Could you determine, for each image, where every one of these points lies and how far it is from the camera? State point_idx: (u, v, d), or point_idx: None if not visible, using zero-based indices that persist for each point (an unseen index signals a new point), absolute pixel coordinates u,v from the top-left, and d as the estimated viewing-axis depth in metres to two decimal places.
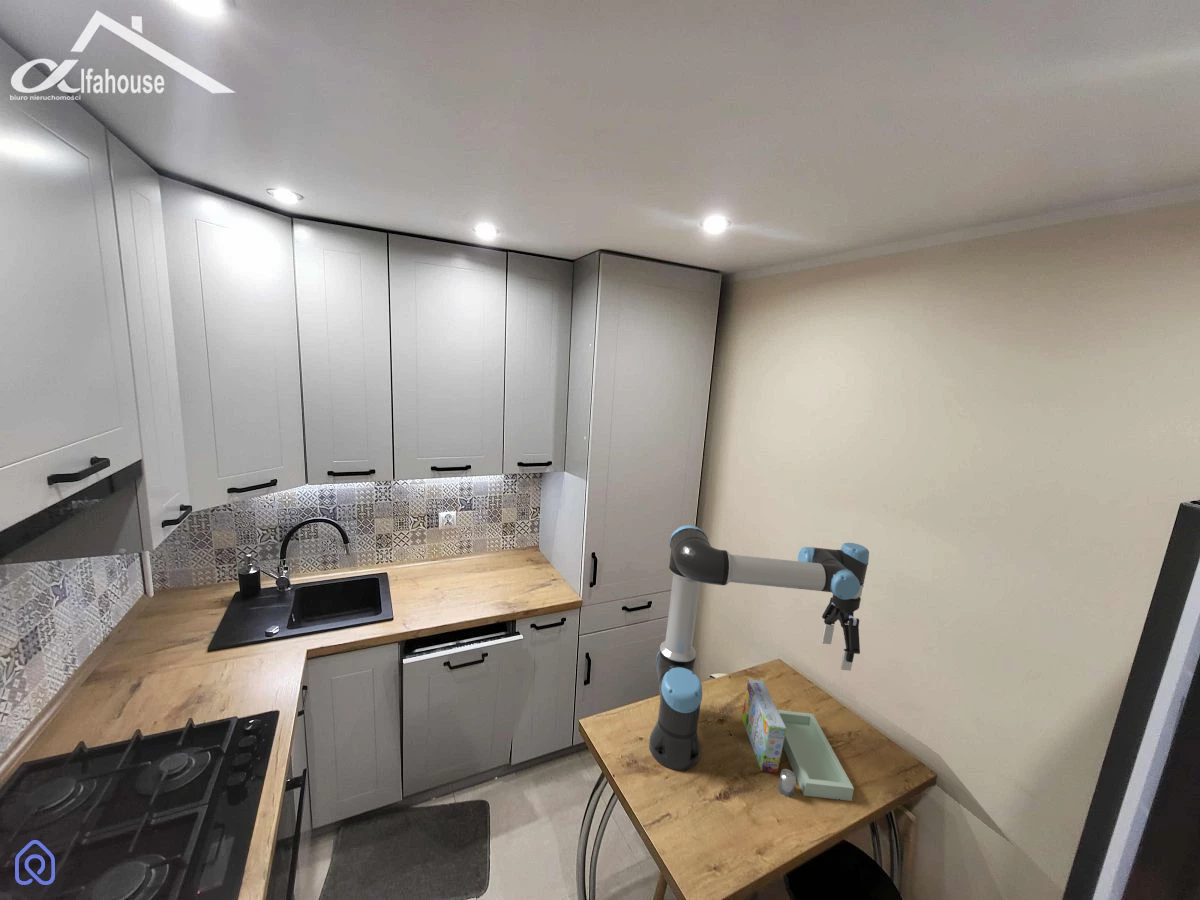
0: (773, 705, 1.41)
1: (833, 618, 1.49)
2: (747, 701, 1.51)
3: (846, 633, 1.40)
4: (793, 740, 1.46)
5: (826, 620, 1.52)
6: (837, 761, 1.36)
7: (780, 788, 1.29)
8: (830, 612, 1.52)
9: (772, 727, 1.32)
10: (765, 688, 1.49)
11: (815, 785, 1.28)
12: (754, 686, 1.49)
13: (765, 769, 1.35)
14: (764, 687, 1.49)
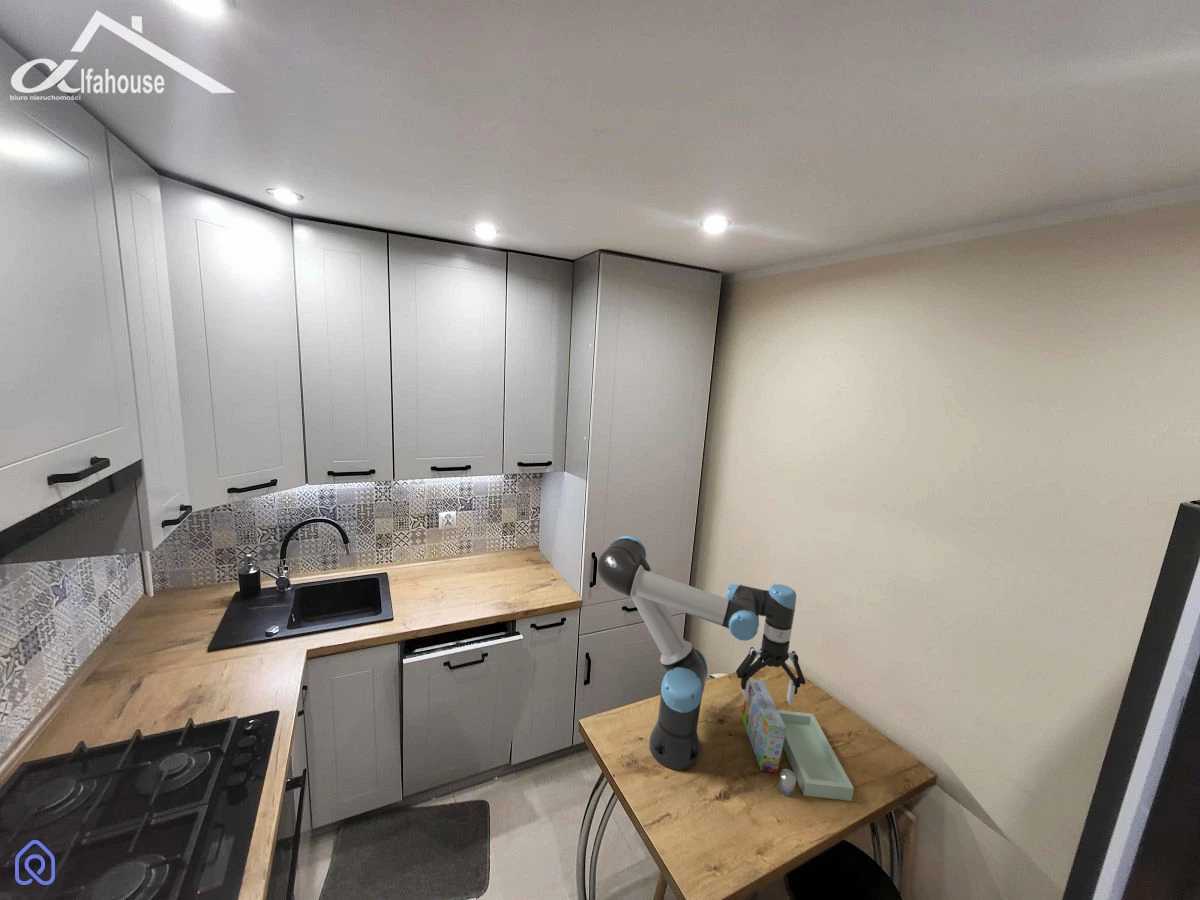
0: (773, 705, 1.41)
1: None
2: (747, 701, 1.51)
3: (753, 664, 1.42)
4: (793, 740, 1.46)
5: None
6: (837, 761, 1.36)
7: (780, 788, 1.29)
8: (796, 670, 1.41)
9: (772, 727, 1.32)
10: (765, 688, 1.49)
11: (815, 785, 1.28)
12: (754, 686, 1.49)
13: (765, 769, 1.35)
14: (764, 687, 1.49)
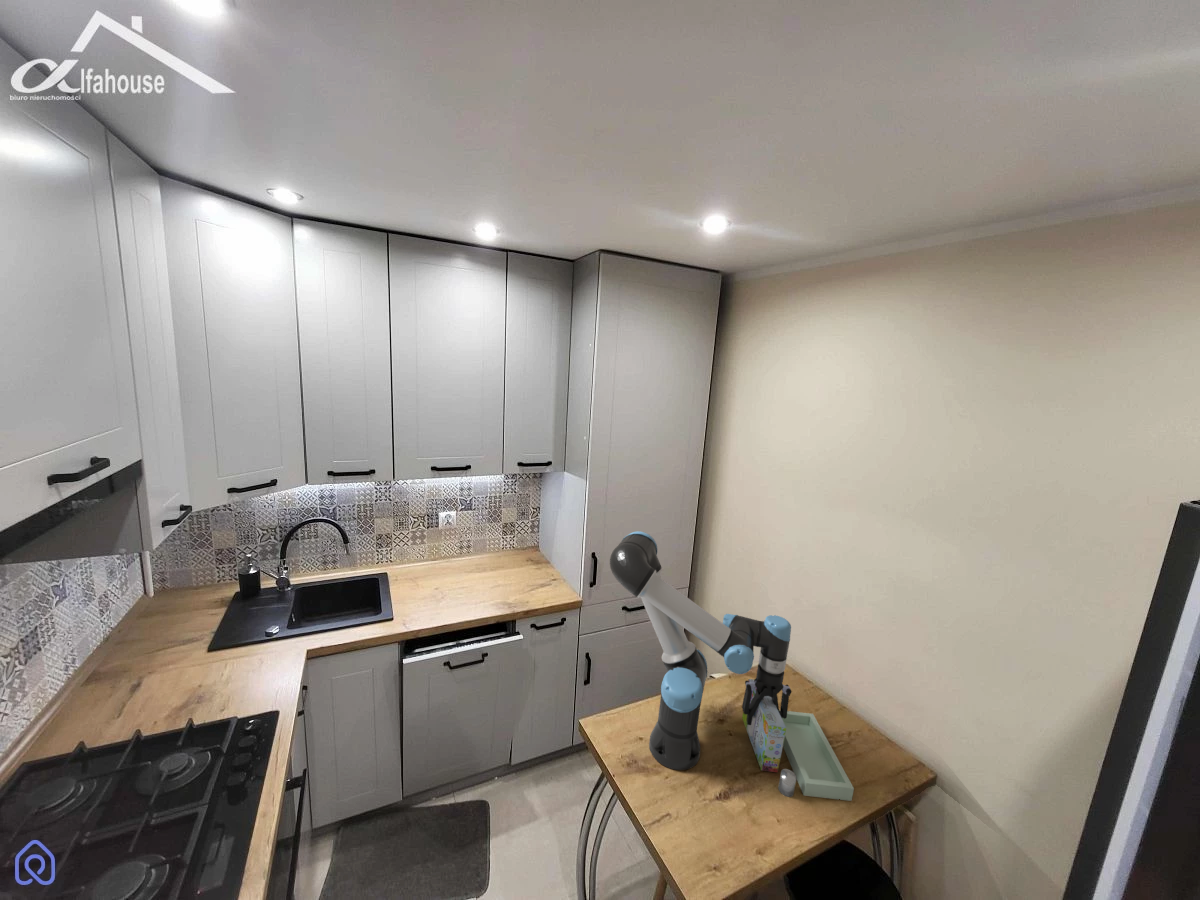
0: (773, 705, 1.41)
1: None
2: None
3: (753, 698, 1.44)
4: (793, 740, 1.46)
5: None
6: (837, 761, 1.36)
7: (780, 788, 1.29)
8: (782, 703, 1.43)
9: (772, 727, 1.32)
10: None
11: (815, 785, 1.28)
12: None
13: (765, 769, 1.35)
14: None
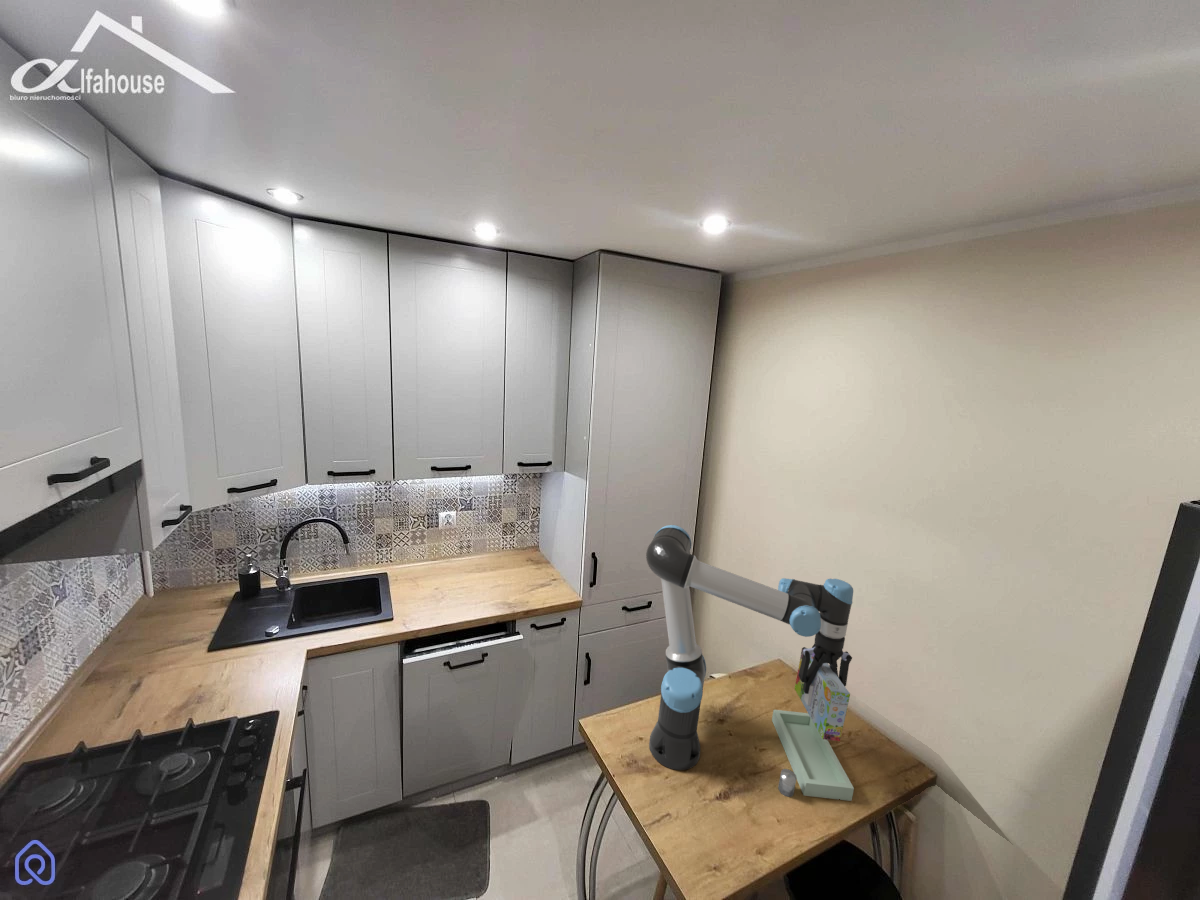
0: (832, 672, 1.35)
1: None
2: None
3: (811, 665, 1.38)
4: (793, 740, 1.46)
5: None
6: (837, 761, 1.36)
7: (780, 788, 1.29)
8: (841, 671, 1.37)
9: (835, 693, 1.26)
10: None
11: (815, 785, 1.28)
12: None
13: (827, 737, 1.29)
14: None
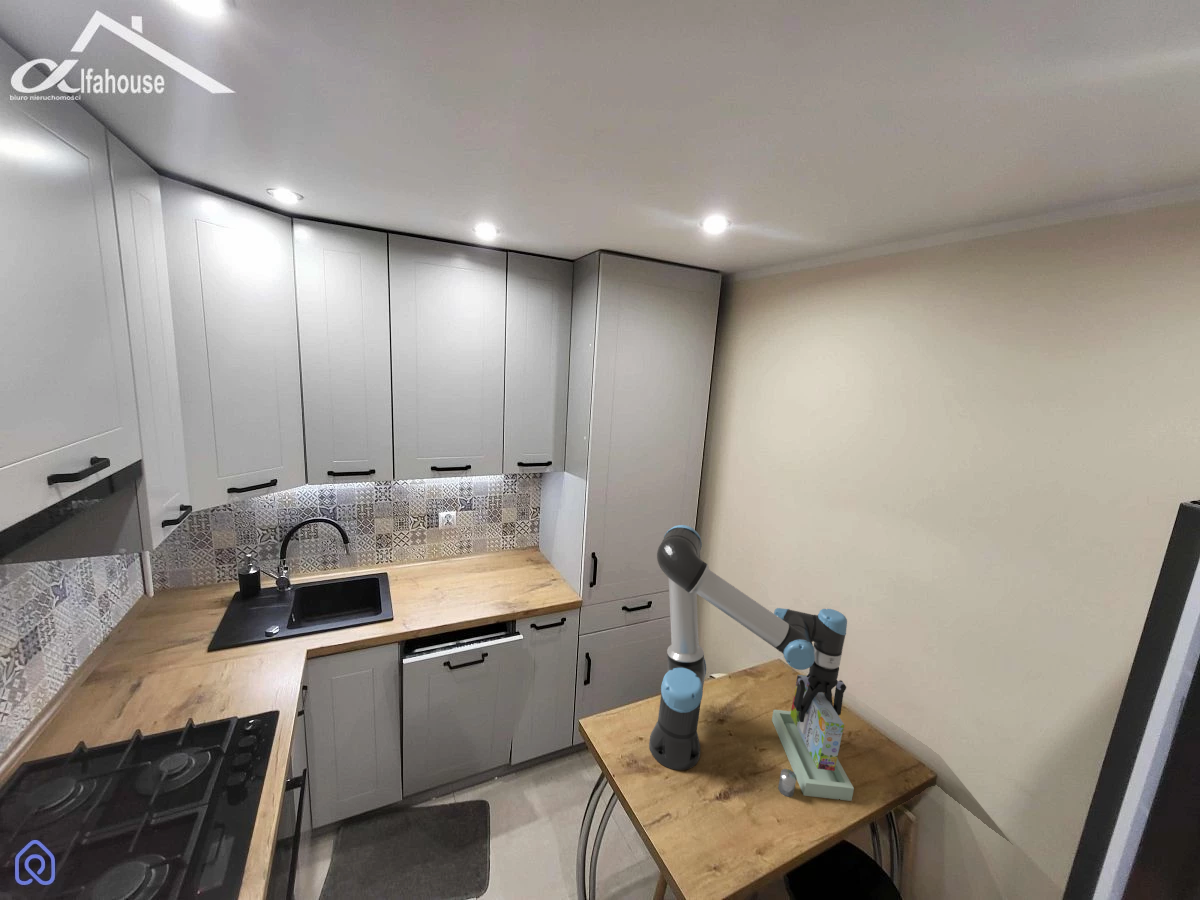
0: (827, 701, 1.37)
1: None
2: None
3: (806, 694, 1.39)
4: (793, 740, 1.46)
5: None
6: (837, 761, 1.36)
7: (780, 788, 1.29)
8: (836, 699, 1.38)
9: (829, 723, 1.28)
10: None
11: (815, 785, 1.28)
12: None
13: (822, 767, 1.30)
14: None
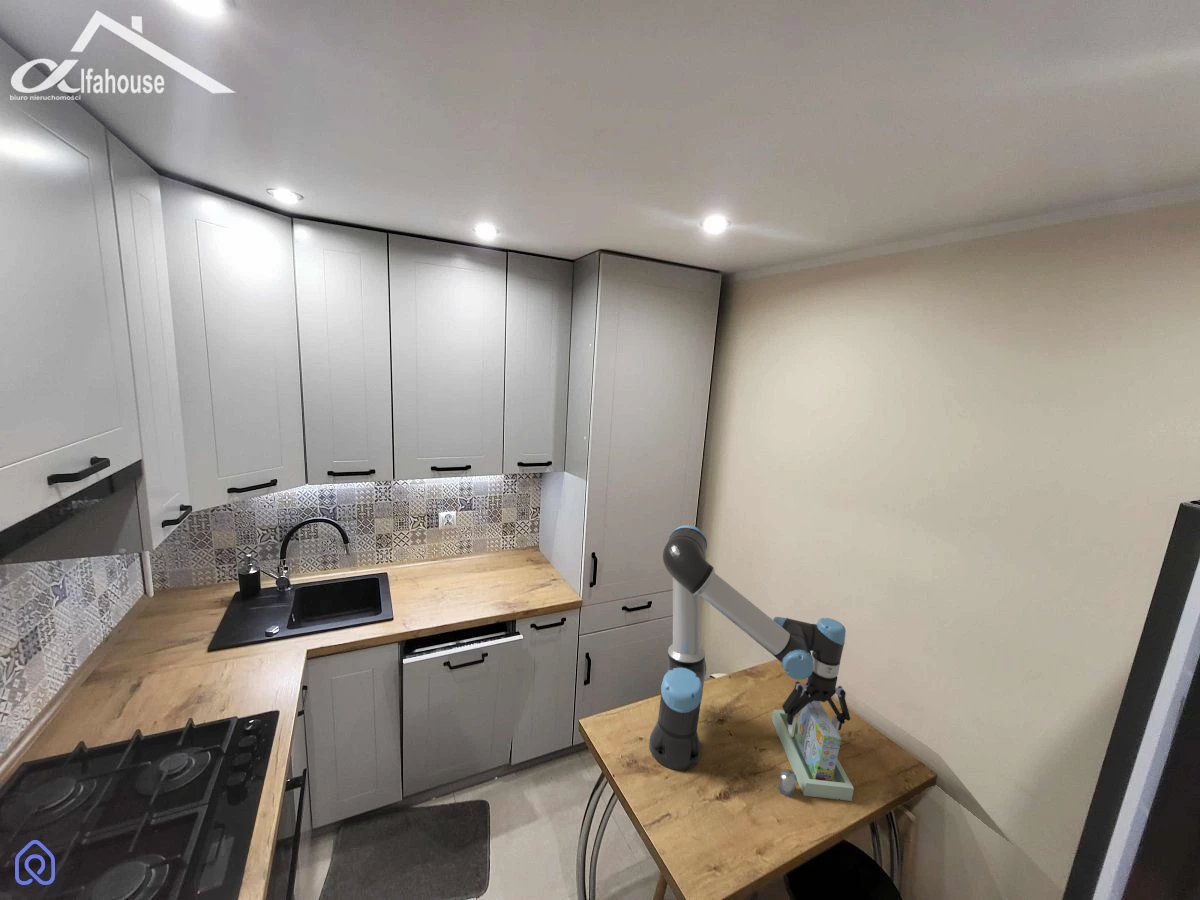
0: (825, 714, 1.38)
1: None
2: None
3: (799, 699, 1.40)
4: (793, 740, 1.46)
5: None
6: (837, 761, 1.36)
7: (780, 788, 1.29)
8: (841, 706, 1.39)
9: (827, 737, 1.29)
10: None
11: (815, 785, 1.28)
12: None
13: None
14: None
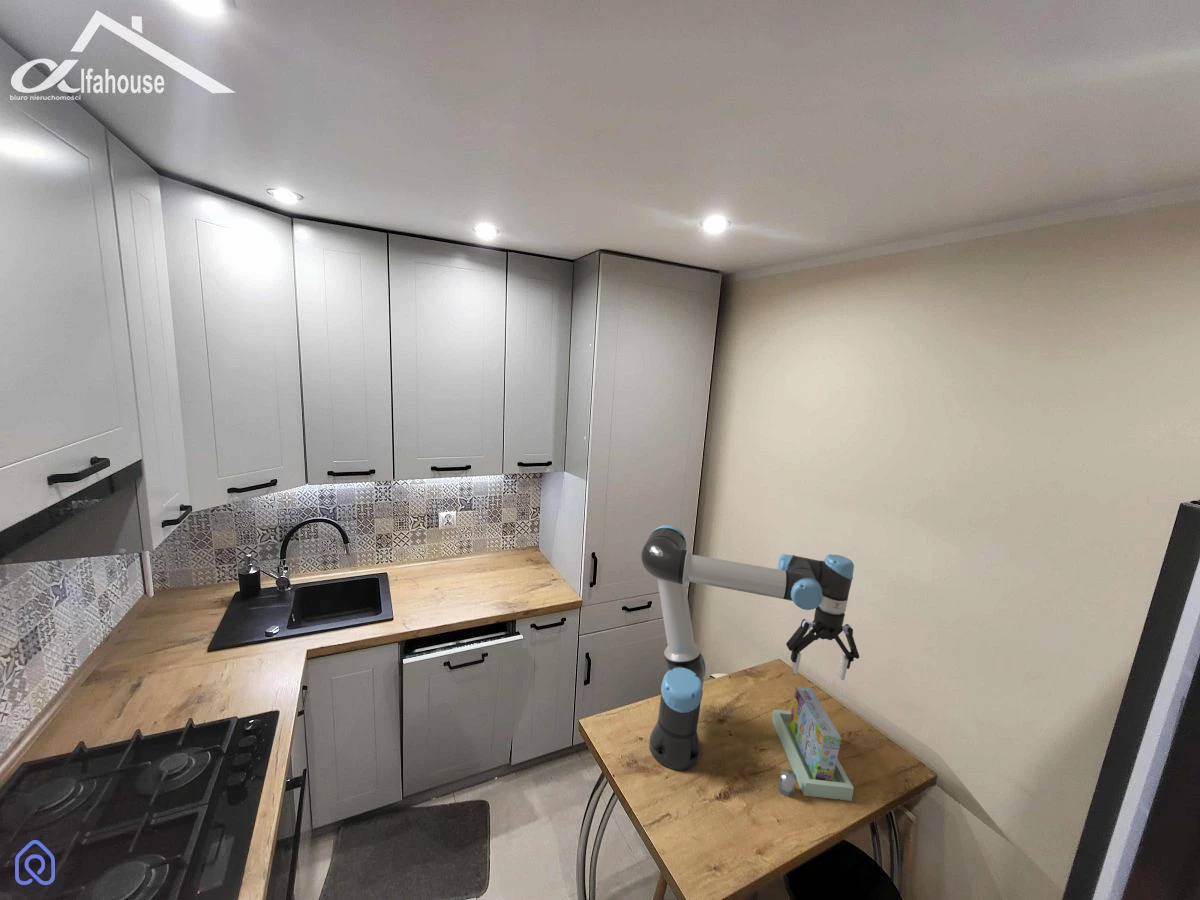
0: (825, 714, 1.38)
1: (838, 643, 1.36)
2: (796, 709, 1.47)
3: (804, 637, 1.37)
4: (793, 740, 1.46)
5: None
6: (837, 761, 1.36)
7: (780, 788, 1.29)
8: (849, 644, 1.36)
9: (827, 737, 1.29)
10: (815, 696, 1.45)
11: (815, 785, 1.28)
12: (803, 694, 1.46)
13: None
14: (814, 695, 1.46)
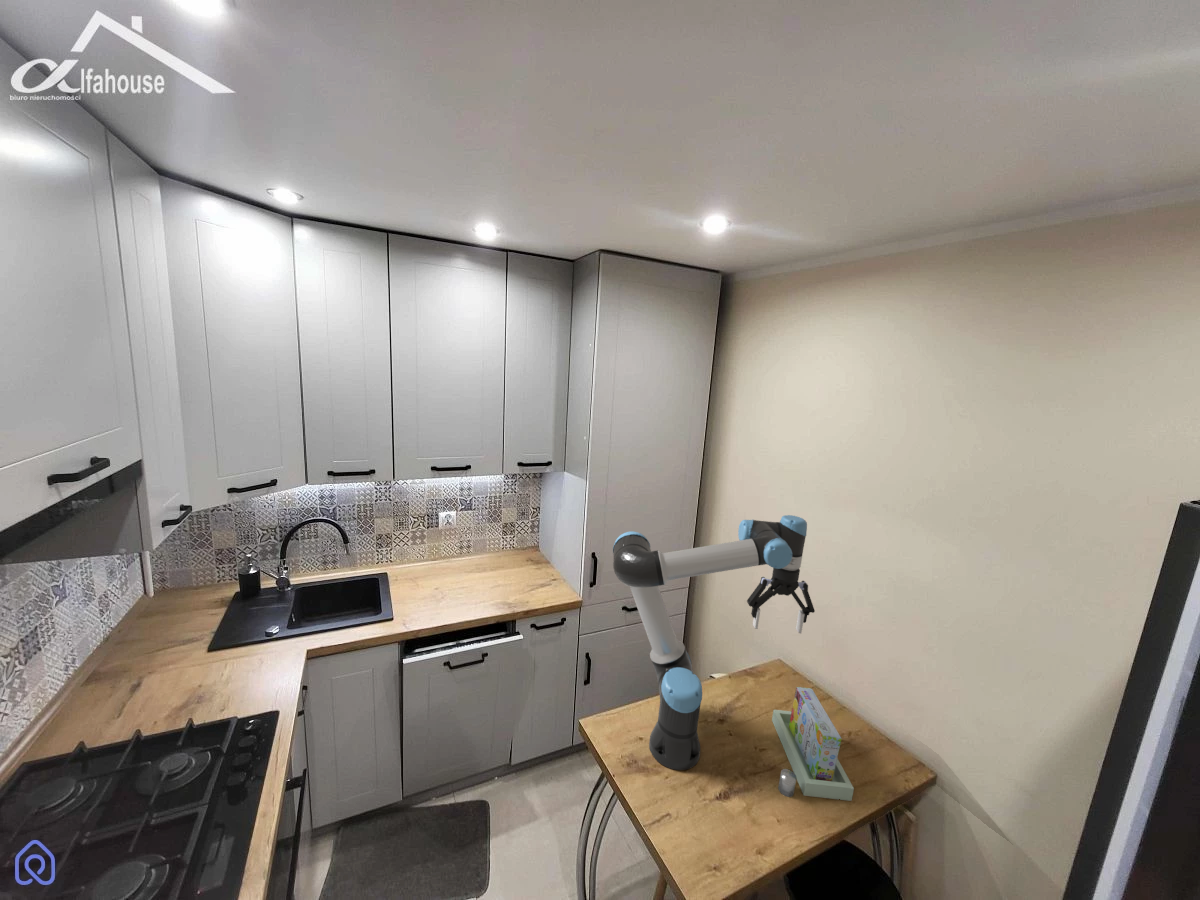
0: (825, 714, 1.38)
1: (795, 599, 1.46)
2: (796, 709, 1.47)
3: (763, 593, 1.46)
4: (793, 740, 1.46)
5: None
6: (837, 761, 1.36)
7: (780, 788, 1.29)
8: (805, 599, 1.45)
9: (827, 737, 1.29)
10: (815, 696, 1.45)
11: (815, 785, 1.28)
12: (803, 694, 1.46)
13: None
14: (814, 695, 1.46)
